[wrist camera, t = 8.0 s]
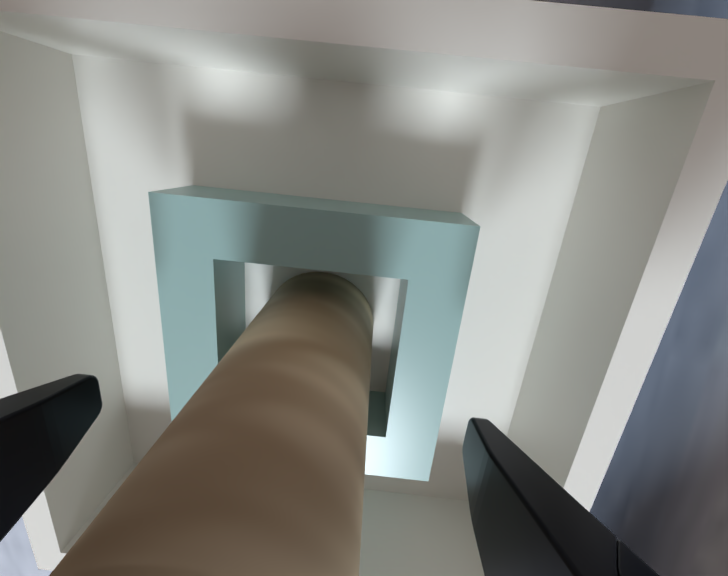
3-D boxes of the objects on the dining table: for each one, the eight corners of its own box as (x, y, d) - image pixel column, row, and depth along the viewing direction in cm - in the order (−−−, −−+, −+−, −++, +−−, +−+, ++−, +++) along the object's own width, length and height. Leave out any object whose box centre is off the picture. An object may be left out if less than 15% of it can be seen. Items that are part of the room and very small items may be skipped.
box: (635, 75, 11) (792, 25, 7) (502, 511, 17) (541, 628, 13) (46, 18, 11) (-155, -66, 7) (122, 468, 17) (38, 568, 13)
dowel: (379, 278, 13) (369, 588, 4) (367, 374, 14) (339, 782, 5) (267, 265, 13) (-27, 543, 4) (266, 362, 14) (50, 745, 5)
